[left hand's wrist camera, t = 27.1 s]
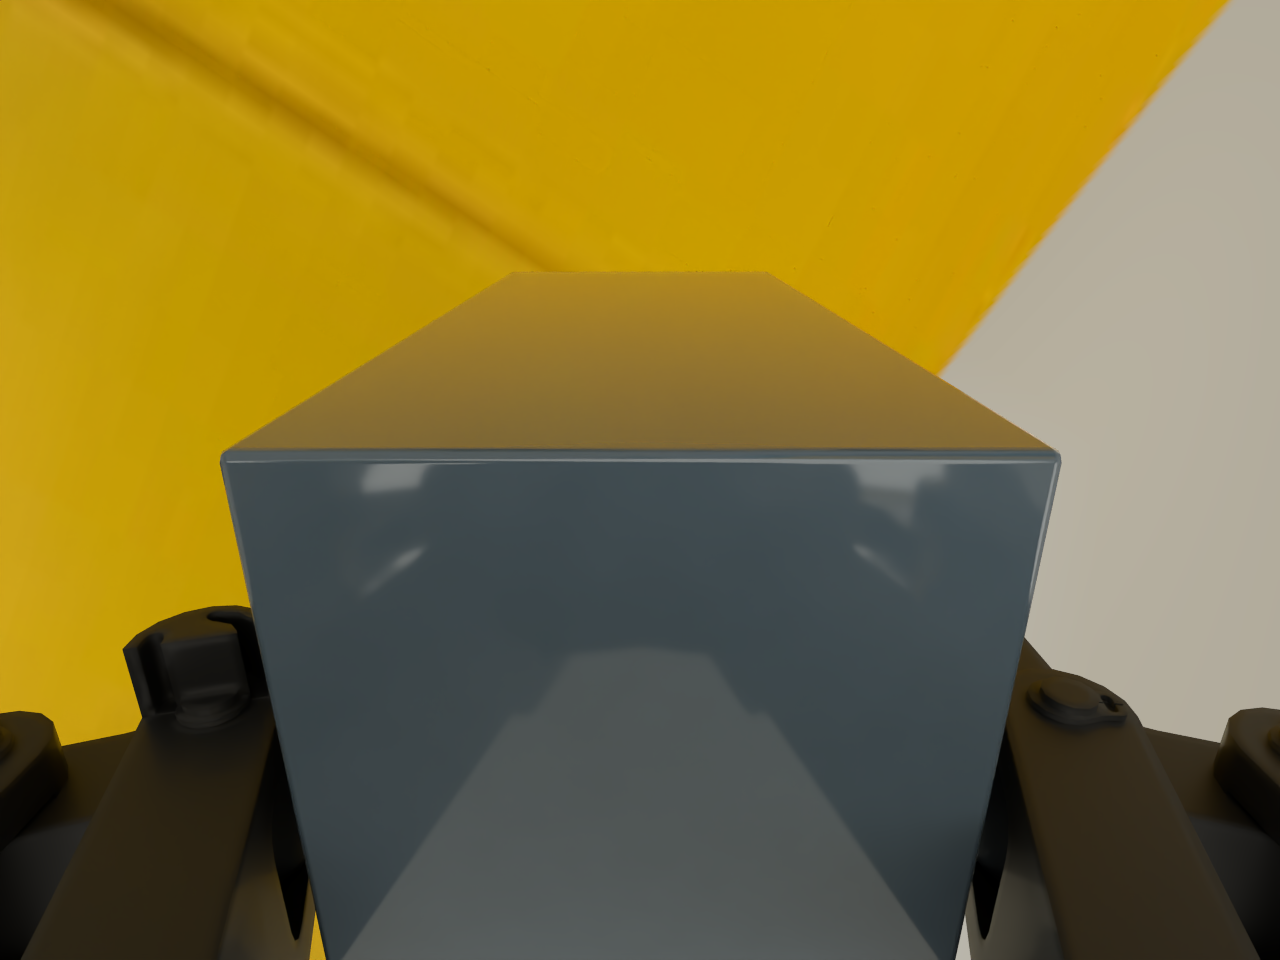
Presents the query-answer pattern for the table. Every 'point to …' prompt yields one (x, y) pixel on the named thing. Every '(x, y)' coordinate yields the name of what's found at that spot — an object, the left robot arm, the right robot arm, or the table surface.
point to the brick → (640, 627)
